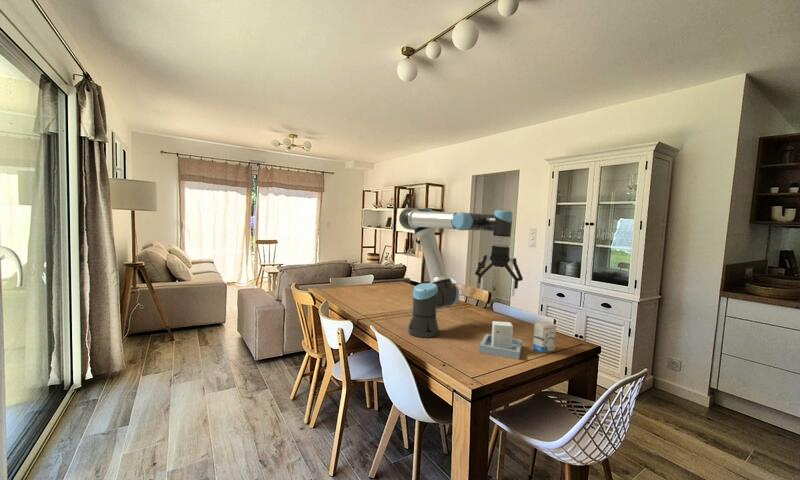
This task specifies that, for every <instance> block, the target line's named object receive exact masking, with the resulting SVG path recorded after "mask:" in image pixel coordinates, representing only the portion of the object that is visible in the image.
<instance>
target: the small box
mask: <svg viewBox="0 0 800 480" xmlns="http://www.w3.org/2000/svg"><path fill="white" fill-rule="evenodd" d="M491 324H492V325H491V335H492V341H491V344H492V346H494V347H499V348H505V349H510V350H512V338H513V339H514V337H513V335H514V326H513V324H512V323H511V322H510V321H497V320H496V321H495V320H492V323H491Z"/></svg>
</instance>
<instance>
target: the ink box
mask: <svg viewBox="0 0 800 480" xmlns="http://www.w3.org/2000/svg"><path fill="white" fill-rule="evenodd" d="M533 327H534V329H533V343H532V344H533V346H532V350H534V351H536V352H539V353H541V354H545V353H548V352H553V351H554V352H555V346H556V336H557V335H556V333H557V324H556V323H553V322H550V321H541V322H535V323H534V326H533Z"/></svg>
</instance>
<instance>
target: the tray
mask: <svg viewBox="0 0 800 480" xmlns="http://www.w3.org/2000/svg"><path fill="white" fill-rule="evenodd" d="M483 336H484V337H483V338H482V340H481V342H480V343H479V346H478V347H479V348H478V349H479V350H478V352H479V353H482V354H487V355H491V356H492V355H493V356H498V357H503V358H507V359H514V360H518V361H519V360H520V357H521V353H522V347H523V340H522V339H517V338H514V337H513V338H512V350H510V349H505V348H499V347H494V346H492V344H491V341H492V334H491V333H490V334H489V333H485V334H484V335H483Z"/></svg>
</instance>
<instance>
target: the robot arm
mask: <svg viewBox="0 0 800 480" xmlns="http://www.w3.org/2000/svg"><path fill="white" fill-rule="evenodd" d="M398 221H399V223H400V226H402V228H404V229H406V230H409V231H410V230H412V231H414V236H416V237H418V238H419V243H420V246H421V250H422V253H423V257H424V260H425V261H424V262H425V265H426V268H427V271H428V275H429V279H430V282H422V283H419V284H417V285H415V286H414V288H413V293H412V312H411V313H412V316H411V319H410V322H409V323H408V327H407V333H408V334H409V335H411V336H413V337H416V338H417V337H418V338H424V339H425V338H434V337H437V336H439V335H440V327H439V322H438V319H437V310H439V309H444V308H449V307H452V306H454V305H455V304H457V302H458V300H459V299H460V291H459V287H458V286H457V285H456V284H455V283H453V282H452V279H451V277H449V276H447V273H446V269H445V265H444V263H443V258H442V254H441V251H440V248H439V243H438V241H437V237H436V234H435V233H436V231H437V229H442V230H443V229H445V230H457V231H458V230H459V231H486V232H492V240H491V241H492V242H491V244H492V246H491V253H490V255H488V254H485V255H483V259H482V261H481V263H480V264H479V266H478V268H477V269H476V271H475V272H474V275H476V276H478V284H480V289H479V292H480V293H481V292H483V291H484V280H485V276H483V275H485V274H486V272H488V271H489V270H490V269H491V268H492V267H493V266H494V267H496V268H498V267H499V268H505V269H506V270H507V272H508V273H509V274H510V276H511V278H512V279H513V281H512V288H511V297H514V296H515V293H516V292H515V291H516V290H517V289H518V287H519V282H520V281H521V282H522V281H523V276H522V273H521V271H520V268H519V265H518V263H517V258H516V257H514V258H510V250H511V248H510V247H509V246H511V238H512V237H511V236H512V234H511V233H512V228H513V227H512V226H513V225H512V224H513V212H512V211H511V210H502V209H501V210H499V209H497V210H495V211H494V213H493V214H490V213H477V212H476V213H473V212H471V213H470V212H464V211H463V212H453V211H452V212H450V211H449V212H447V211H445V212H444V211H434V210H432V209H431V208H425V207H423V208H421V207H420V208H419V207H406V208H404V209H403V210H401V212H400V214H399V217H398ZM488 260H490V261H491V263H490V264H488V265H487V267H485V269H483V270H482V268H483V267H484V265H485V264H486V262H487V261H488ZM510 262H511V264H512V265H513V267H514V270H515V272H516V274H515V272H514V271H513V270H512V268H511V267H510V265H509V263H510ZM481 270H482V271H481Z"/></svg>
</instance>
